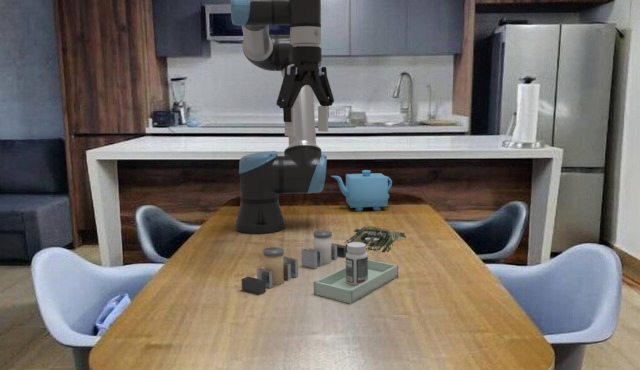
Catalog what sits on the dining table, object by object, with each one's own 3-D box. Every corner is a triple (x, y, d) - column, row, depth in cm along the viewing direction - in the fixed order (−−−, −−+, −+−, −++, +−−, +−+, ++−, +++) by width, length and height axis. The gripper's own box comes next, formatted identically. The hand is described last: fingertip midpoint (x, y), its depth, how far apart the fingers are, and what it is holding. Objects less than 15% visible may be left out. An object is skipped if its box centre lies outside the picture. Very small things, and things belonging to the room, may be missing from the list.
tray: (313, 293, 111) (313, 281, 110) (363, 269, 126) (363, 258, 125) (350, 303, 105) (350, 291, 105) (398, 276, 120) (398, 265, 120)
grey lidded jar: (310, 262, 131) (309, 233, 130) (321, 257, 135) (320, 229, 134) (324, 265, 129) (324, 236, 128) (335, 260, 132) (335, 232, 131)
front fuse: (259, 283, 117) (258, 251, 116) (273, 277, 121) (272, 246, 120) (275, 287, 115) (274, 254, 113) (288, 281, 118) (287, 249, 117)
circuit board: (404, 256, 137) (404, 242, 137) (335, 253, 140) (335, 239, 140) (406, 231, 161) (407, 219, 161) (347, 229, 165) (347, 217, 164)
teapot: (388, 204, 198) (388, 167, 196) (395, 210, 187) (395, 171, 185) (329, 206, 196) (328, 169, 194) (333, 213, 185) (332, 173, 183)
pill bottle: (369, 278, 117) (368, 241, 116) (366, 286, 113) (366, 247, 111) (347, 277, 118) (347, 240, 117) (344, 285, 114) (344, 247, 112)
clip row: (241, 289, 113) (241, 271, 113) (332, 252, 139) (332, 237, 139) (259, 294, 110) (258, 276, 110) (348, 255, 136) (348, 240, 136)
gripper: (284, 42, 118) (287, 138, 122) (347, 47, 138) (347, 130, 142) (259, 44, 122) (262, 137, 126) (323, 49, 142) (324, 129, 146)
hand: (307, 133), depth 134 cm, fingers open, 13 cm apart
